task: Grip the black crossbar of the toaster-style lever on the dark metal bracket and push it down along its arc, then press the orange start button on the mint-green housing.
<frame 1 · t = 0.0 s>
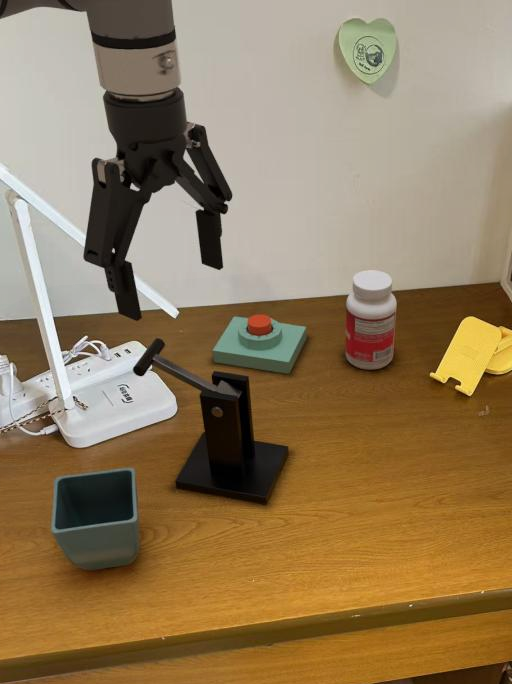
hand: (173, 289, 87), 24 cm above the table, tool pointing down, fingers open, 13 cm apart
pill bottle: (369, 358, 120), on the table
button box: (261, 350, 121), on the table
bracket: (234, 470, 101), on the table
lever: (190, 378, 91), point 14 cm above the table, hinge at 25.0°
start button: (259, 325, 118), point 4 cm above the table, slide at 0.1 cm
flower pot: (110, 553, 90), on the table
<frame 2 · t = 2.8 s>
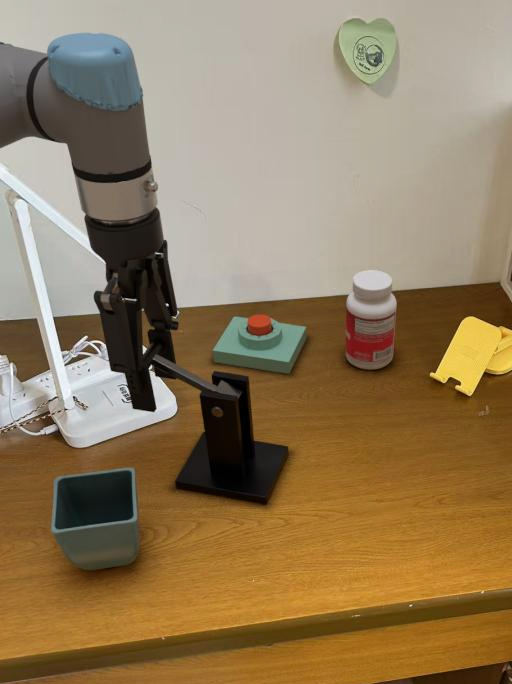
hand: (156, 391, 94), 11 cm above the table, tool pointing down, fingers closed on lever, 6 cm apart
lever: (190, 378, 91), point 14 cm above the table, hinge at 25.0°, touching gripper
everything else where it was.
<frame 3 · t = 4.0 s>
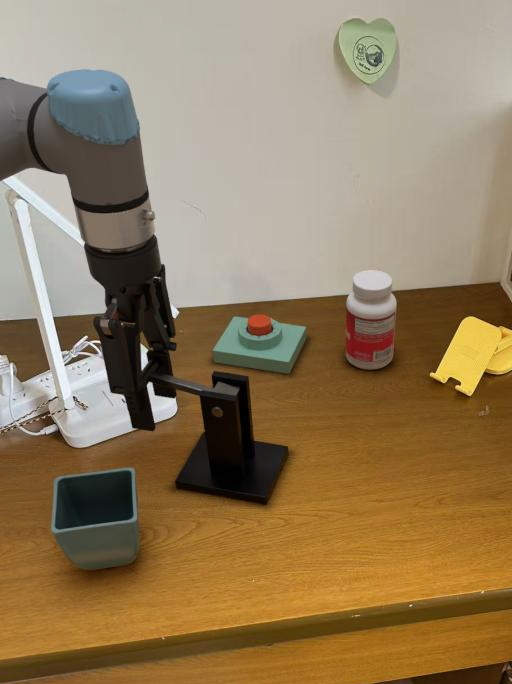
hand: (155, 411, 96), 8 cm above the table, tool pointing down, fingers closed on lever, 6 cm apart
lever: (188, 386, 92), point 13 cm above the table, hinge at 8.3°, touching gripper
everything else where it was.
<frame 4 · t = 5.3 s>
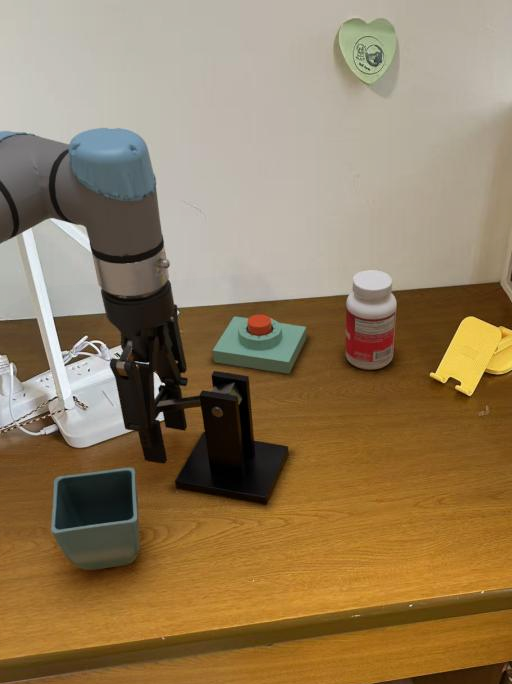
hand: (166, 443, 100), 3 cm above the table, tool pointing down, fingers closed on lever, 6 cm apart
lever: (192, 402, 94), point 10 cm above the table, hinge at -19.8°, touching gripper
everything else where it was.
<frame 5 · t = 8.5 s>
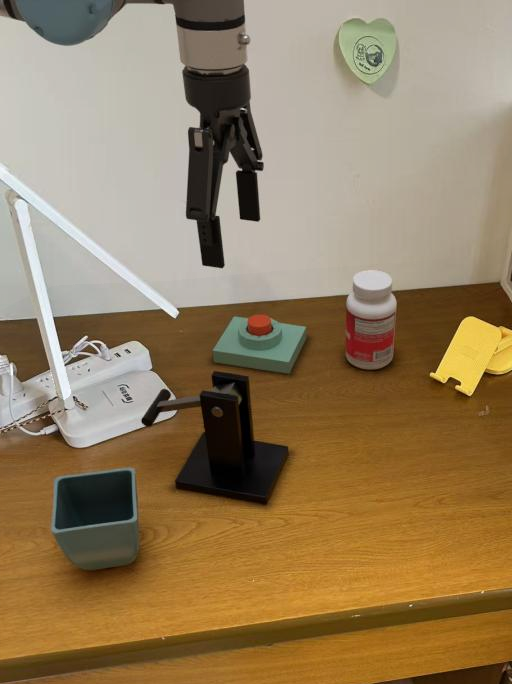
hand: (232, 241, 101), 21 cm above the table, tool pointing down, fingers open, 13 cm apart
lever: (192, 402, 94), point 10 cm above the table, hinge at -20.0°
everything else where it was.
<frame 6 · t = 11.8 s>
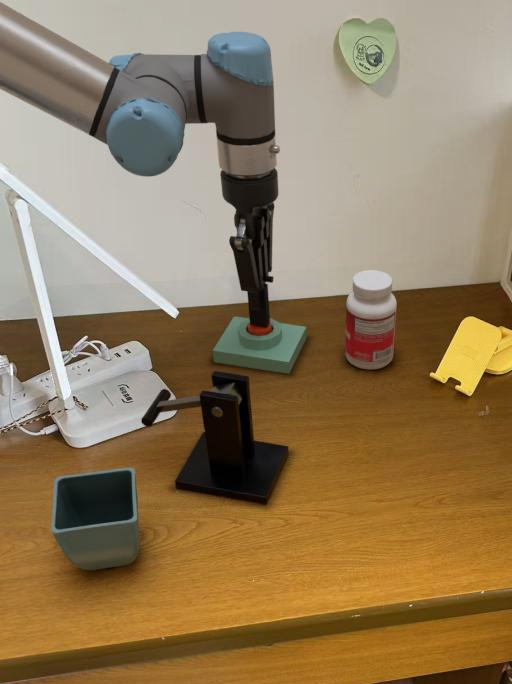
hand: (260, 323, 117), 5 cm above the table, tool pointing down, fingers closed
start button: (259, 329, 118), point 4 cm above the table, slide at -0.6 cm, touching gripper
everything else where it was.
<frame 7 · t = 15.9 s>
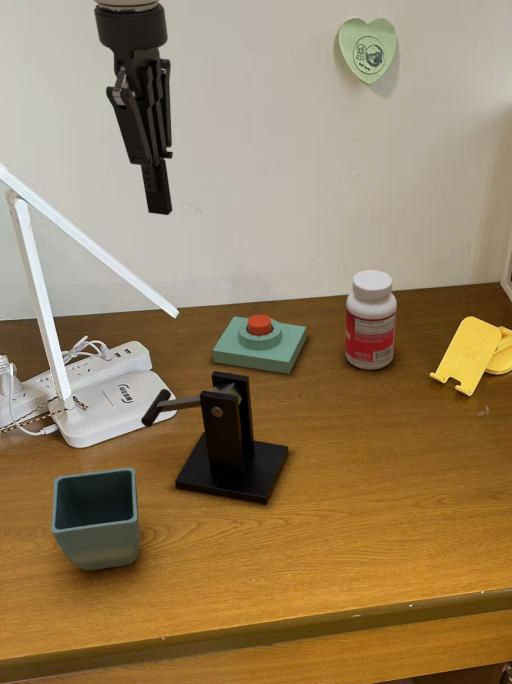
hand: (160, 211, 100), 24 cm above the table, tool pointing down, fingers closed
start button: (259, 325, 118), point 4 cm above the table, slide at 0.1 cm
everything else where it was.
at the end: lever at -20° (first picture: +25°); start button pushed in 1.0 cm at the most during the clip, back to where it started at the end; start button slide at 0.1 cm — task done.
